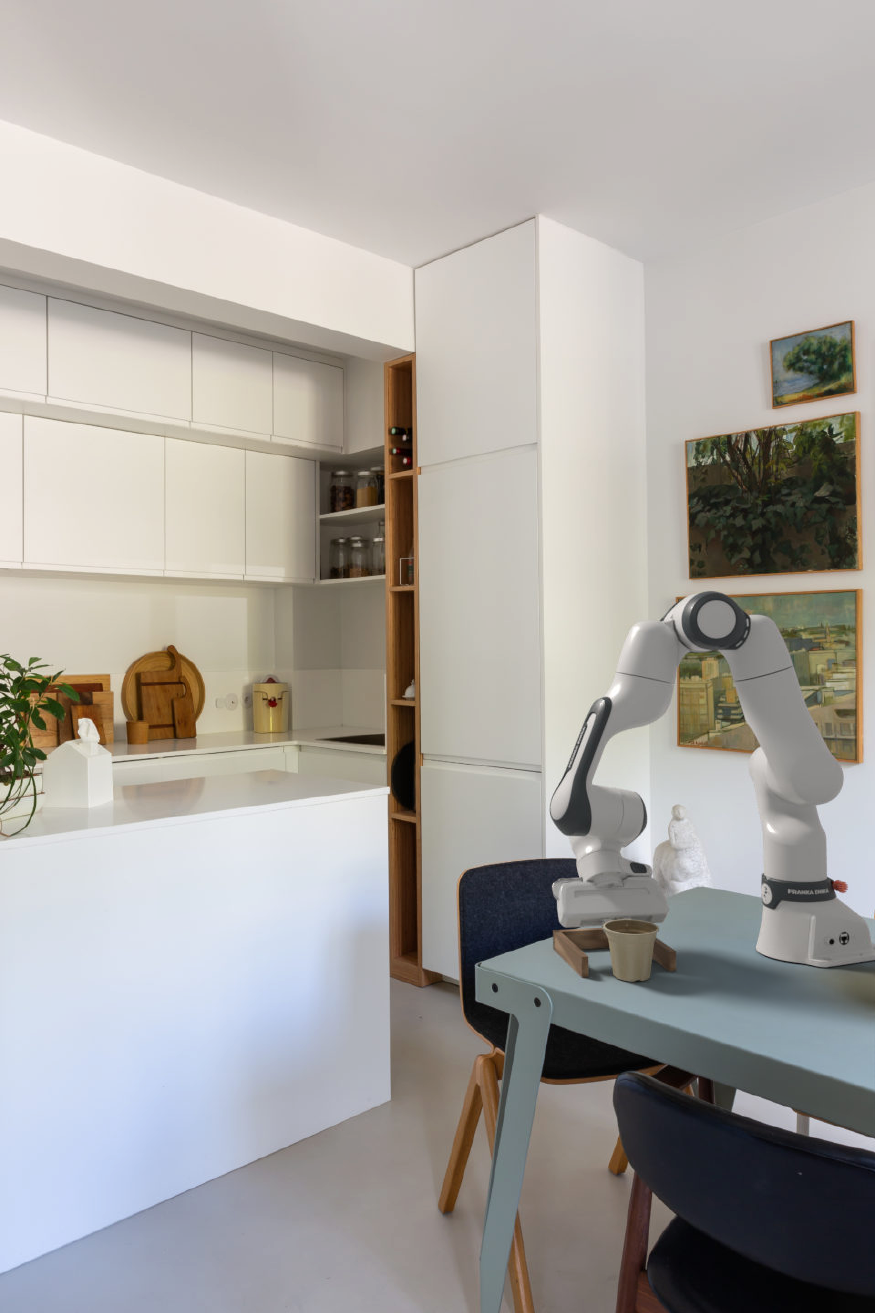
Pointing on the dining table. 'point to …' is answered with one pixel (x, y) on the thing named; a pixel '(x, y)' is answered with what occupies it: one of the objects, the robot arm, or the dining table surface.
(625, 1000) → the dining table surface
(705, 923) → the dining table surface
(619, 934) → the flower pot
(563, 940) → the wooden u-shaped frame
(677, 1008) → the dining table surface
